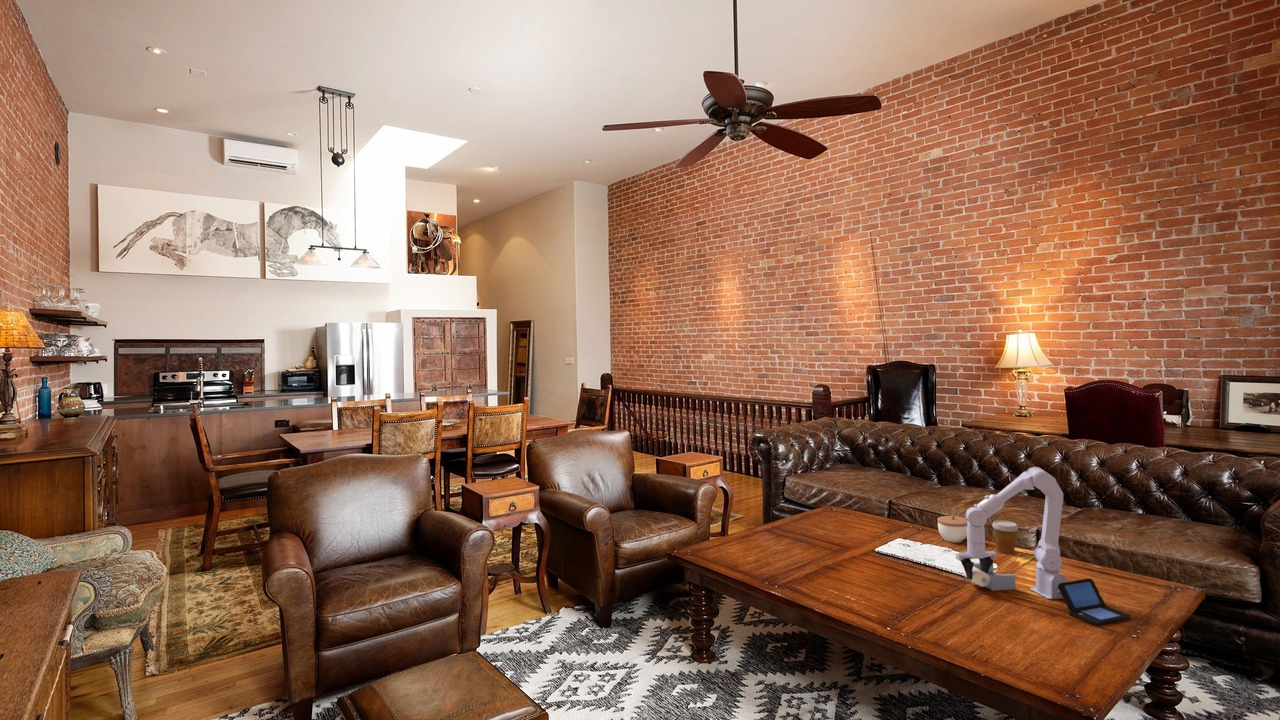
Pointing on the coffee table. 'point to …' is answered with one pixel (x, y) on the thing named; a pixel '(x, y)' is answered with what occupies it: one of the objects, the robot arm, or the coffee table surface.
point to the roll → (979, 577)
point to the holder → (999, 580)
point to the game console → (1089, 603)
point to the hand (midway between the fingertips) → (976, 578)
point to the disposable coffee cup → (1005, 536)
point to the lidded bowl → (952, 528)
